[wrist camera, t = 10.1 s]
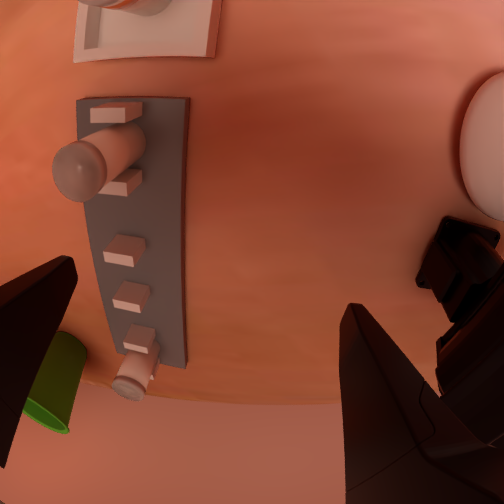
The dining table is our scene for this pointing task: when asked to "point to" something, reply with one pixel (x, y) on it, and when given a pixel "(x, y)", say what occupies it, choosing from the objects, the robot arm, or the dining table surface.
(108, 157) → the cylinder
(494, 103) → the flower in vase
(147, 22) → the tray
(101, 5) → the cylinder
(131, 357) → the cylinder
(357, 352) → the robot arm
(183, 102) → the fuse block
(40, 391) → the cup
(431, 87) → the dining table surface
